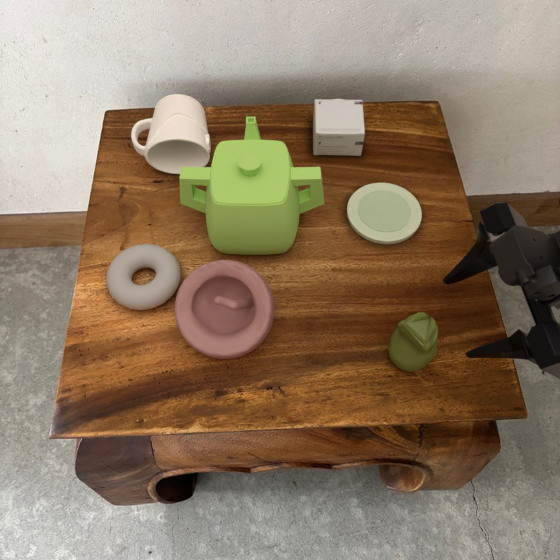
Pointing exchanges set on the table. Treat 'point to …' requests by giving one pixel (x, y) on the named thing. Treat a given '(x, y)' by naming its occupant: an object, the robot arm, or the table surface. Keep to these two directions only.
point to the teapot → (251, 194)
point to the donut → (150, 292)
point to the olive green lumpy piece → (414, 342)
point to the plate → (384, 213)
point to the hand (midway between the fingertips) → (455, 317)
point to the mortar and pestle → (224, 309)
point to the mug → (175, 135)
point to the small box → (338, 127)
